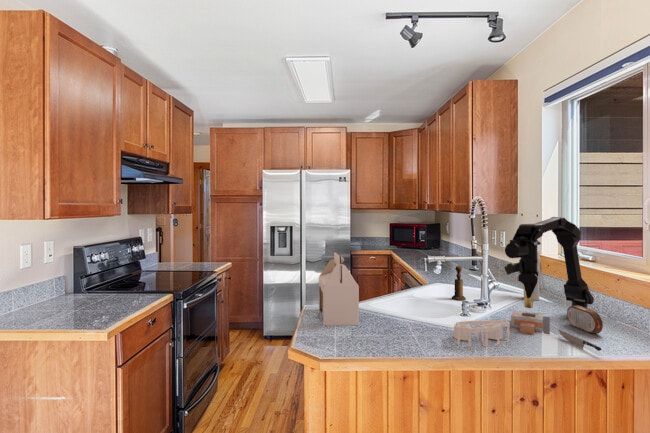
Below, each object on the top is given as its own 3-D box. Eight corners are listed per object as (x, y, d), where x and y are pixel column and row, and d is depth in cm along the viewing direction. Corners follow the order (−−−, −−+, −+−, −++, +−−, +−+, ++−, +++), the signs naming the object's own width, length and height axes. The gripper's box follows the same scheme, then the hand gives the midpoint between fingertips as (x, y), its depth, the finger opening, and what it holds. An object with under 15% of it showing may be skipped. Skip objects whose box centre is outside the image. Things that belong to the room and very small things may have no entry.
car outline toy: (500, 338, 133) (500, 317, 133) (519, 349, 122) (519, 327, 122) (446, 340, 131) (446, 319, 131) (460, 351, 120) (460, 328, 120)
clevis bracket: (513, 322, 152) (513, 310, 152) (542, 326, 147) (543, 313, 147) (509, 332, 139) (509, 319, 139) (542, 337, 133) (542, 323, 133)
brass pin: (524, 305, 147) (524, 280, 147) (533, 306, 146) (533, 281, 145) (524, 307, 144) (524, 281, 144) (532, 308, 143) (532, 282, 143)
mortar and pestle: (465, 301, 188) (465, 265, 188) (466, 304, 182) (466, 267, 182) (451, 300, 190) (451, 264, 190) (451, 302, 184) (451, 266, 184)
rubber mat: (512, 313, 165) (512, 312, 165) (549, 318, 158) (549, 317, 158) (506, 329, 143) (506, 328, 143) (549, 335, 135) (549, 334, 135)
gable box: (359, 331, 140) (359, 257, 140) (323, 333, 139) (323, 257, 138) (349, 315, 162) (349, 250, 162) (318, 316, 161) (318, 251, 161)
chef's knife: (556, 336, 134) (556, 328, 134) (559, 336, 134) (559, 328, 134) (599, 357, 115) (599, 347, 115) (602, 357, 115) (602, 347, 115)
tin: (603, 336, 135) (603, 313, 135) (595, 336, 134) (595, 313, 134) (572, 323, 150) (573, 302, 150) (565, 324, 149) (565, 303, 149)
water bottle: (526, 301, 187) (526, 251, 187) (521, 297, 195) (521, 249, 195) (546, 302, 186) (546, 251, 186) (540, 298, 194) (540, 250, 193)
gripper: (508, 253, 157) (507, 290, 157) (503, 258, 141) (503, 299, 141) (538, 254, 151) (538, 293, 151) (537, 259, 135) (537, 303, 135)
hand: (528, 297), depth 145 cm, fingers closed on brass pin, 3 cm apart
